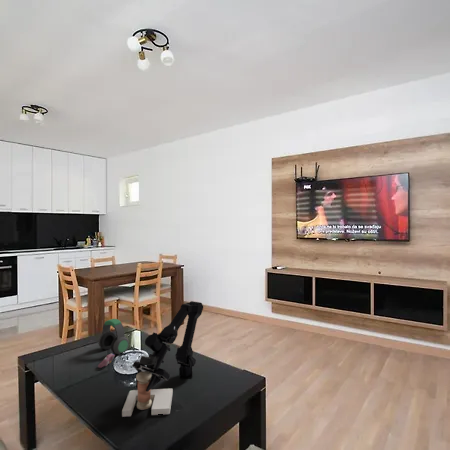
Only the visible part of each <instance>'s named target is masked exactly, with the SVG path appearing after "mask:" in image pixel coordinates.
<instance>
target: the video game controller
mask: <svg viewBox="0 0 450 450" xmlns="http://www.w3.org/2000/svg"><path fill="white" fill-rule="evenodd" d="M115 356H116V354H115V353H113V352H111V353H110V354H107V355H106V356H105V357H104V358H103V360H101V362H100V363H98V366H97V368H99V369H101V368H104V367H107V366H108V365H110V364H112V361H113V360H114V358H115Z"/></svg>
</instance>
